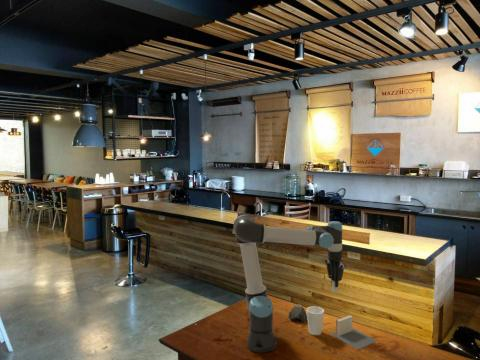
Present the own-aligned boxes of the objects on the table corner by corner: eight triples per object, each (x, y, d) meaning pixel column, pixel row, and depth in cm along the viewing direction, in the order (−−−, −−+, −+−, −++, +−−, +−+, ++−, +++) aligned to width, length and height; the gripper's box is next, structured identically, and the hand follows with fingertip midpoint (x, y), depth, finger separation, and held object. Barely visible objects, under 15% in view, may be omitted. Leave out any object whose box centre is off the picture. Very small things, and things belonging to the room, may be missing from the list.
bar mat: (357, 350, 183) (357, 349, 183) (330, 335, 199) (330, 334, 199) (377, 342, 191) (377, 340, 191) (350, 327, 207) (350, 326, 207)
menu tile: (339, 335, 197) (339, 321, 196) (335, 333, 199) (335, 319, 198) (352, 330, 202) (352, 316, 201) (348, 328, 204) (349, 314, 203)
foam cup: (324, 338, 195) (324, 314, 194) (306, 337, 197) (306, 313, 196) (323, 329, 205) (323, 307, 204) (306, 328, 207) (306, 305, 205)
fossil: (284, 315, 221) (290, 299, 223) (295, 319, 225) (301, 304, 227) (294, 322, 212) (300, 305, 213) (306, 327, 215) (312, 310, 217)
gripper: (349, 251, 199) (348, 294, 201) (331, 246, 210) (331, 286, 212) (339, 253, 195) (339, 297, 197) (321, 248, 206) (321, 289, 208)
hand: (334, 292), depth 205 cm, fingers closed
